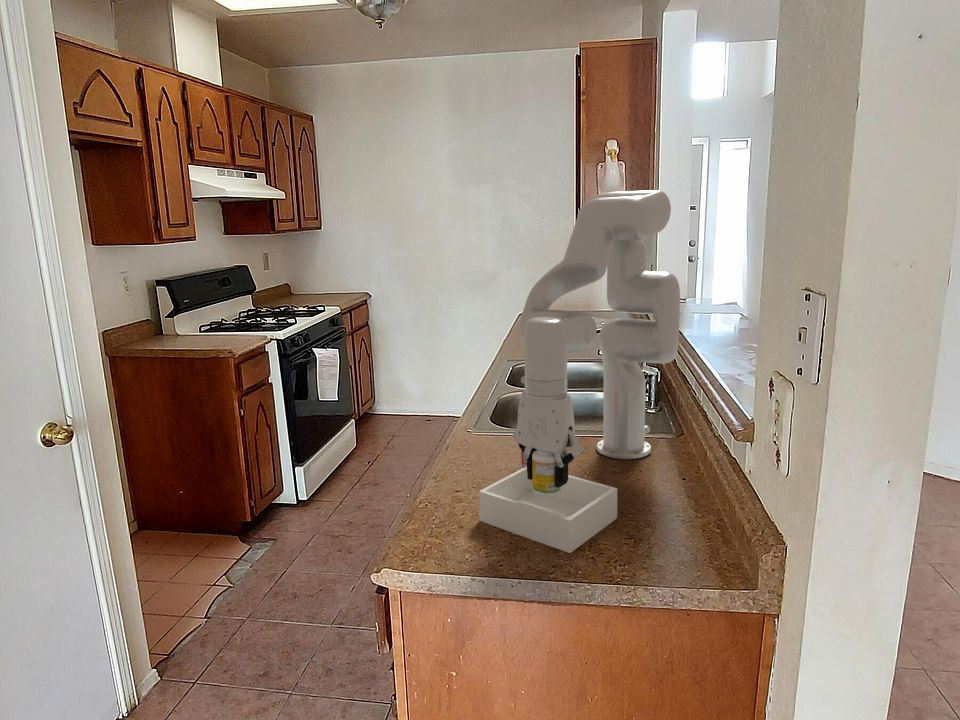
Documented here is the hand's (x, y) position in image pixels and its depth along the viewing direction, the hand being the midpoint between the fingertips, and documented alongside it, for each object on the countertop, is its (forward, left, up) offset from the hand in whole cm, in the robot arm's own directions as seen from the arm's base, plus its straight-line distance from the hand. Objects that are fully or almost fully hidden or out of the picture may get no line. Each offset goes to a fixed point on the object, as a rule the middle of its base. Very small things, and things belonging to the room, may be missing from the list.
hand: (547, 480), depth 121 cm
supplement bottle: (0, 0, -2) cm, 2 cm away
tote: (0, 0, -8) cm, 8 cm away
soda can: (-15, -13, -8) cm, 22 cm away
